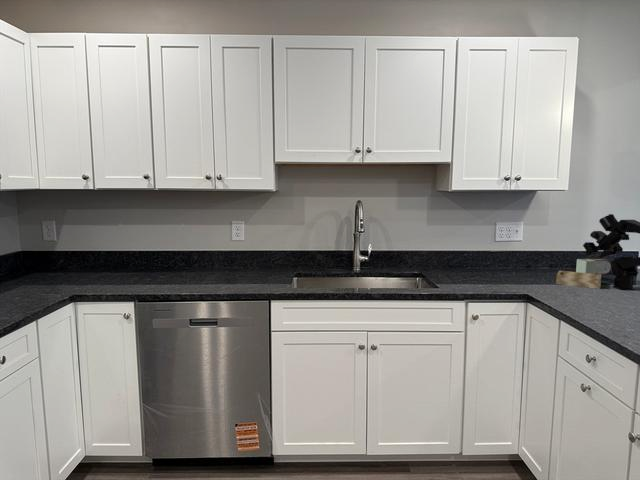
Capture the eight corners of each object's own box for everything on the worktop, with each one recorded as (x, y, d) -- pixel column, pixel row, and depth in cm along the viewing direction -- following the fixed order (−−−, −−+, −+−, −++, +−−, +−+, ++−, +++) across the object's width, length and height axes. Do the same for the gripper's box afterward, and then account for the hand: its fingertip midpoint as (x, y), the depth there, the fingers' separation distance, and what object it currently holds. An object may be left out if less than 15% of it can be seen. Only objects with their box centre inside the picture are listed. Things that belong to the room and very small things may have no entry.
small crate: (594, 279, 213) (596, 260, 211) (584, 280, 211) (586, 261, 210) (585, 277, 218) (586, 258, 217) (575, 278, 217) (576, 259, 216)
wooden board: (600, 283, 204) (601, 274, 204) (600, 288, 193) (600, 279, 192) (558, 279, 214) (559, 270, 214) (556, 284, 203) (556, 275, 202)
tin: (608, 273, 229) (610, 258, 228) (612, 274, 226) (613, 259, 225) (580, 273, 230) (581, 258, 229) (583, 274, 227) (584, 259, 226)
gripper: (619, 225, 205) (598, 244, 217) (587, 226, 201) (568, 245, 213) (633, 243, 198) (610, 262, 210) (600, 244, 195) (579, 263, 207)
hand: (592, 257), depth 210 cm, fingers open, 9 cm apart
